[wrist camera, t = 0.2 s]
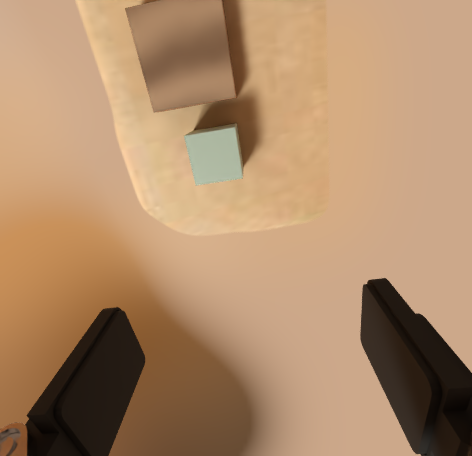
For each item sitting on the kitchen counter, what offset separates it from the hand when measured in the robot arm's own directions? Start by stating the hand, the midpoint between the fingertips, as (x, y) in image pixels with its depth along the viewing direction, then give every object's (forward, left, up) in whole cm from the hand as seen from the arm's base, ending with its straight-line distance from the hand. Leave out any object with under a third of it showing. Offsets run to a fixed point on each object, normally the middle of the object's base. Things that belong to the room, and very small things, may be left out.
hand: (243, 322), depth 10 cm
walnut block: (-13, -5, -30) cm, 33 cm away
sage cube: (-2, -3, -30) cm, 30 cm away
